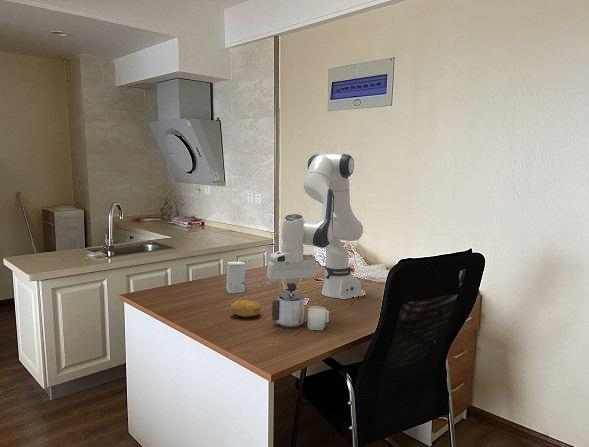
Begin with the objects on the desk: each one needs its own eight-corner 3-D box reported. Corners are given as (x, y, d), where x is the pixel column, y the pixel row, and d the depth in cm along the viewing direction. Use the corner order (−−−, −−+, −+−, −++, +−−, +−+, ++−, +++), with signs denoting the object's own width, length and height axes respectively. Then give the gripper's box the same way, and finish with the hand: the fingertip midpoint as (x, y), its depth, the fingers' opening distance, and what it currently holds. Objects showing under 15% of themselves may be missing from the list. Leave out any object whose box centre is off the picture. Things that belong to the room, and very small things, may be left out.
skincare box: (228, 293, 216) (229, 264, 214) (225, 290, 221) (226, 261, 219) (245, 292, 219) (245, 263, 217) (241, 289, 224) (242, 260, 222)
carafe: (297, 317, 186) (298, 290, 184) (307, 326, 176) (308, 297, 174) (268, 320, 181) (268, 292, 179) (276, 329, 171) (277, 300, 170)
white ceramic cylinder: (323, 323, 180) (323, 304, 179) (330, 329, 173) (331, 310, 172) (304, 325, 176) (305, 306, 175) (311, 332, 170) (312, 312, 169)
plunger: (295, 315, 184) (296, 280, 182) (302, 321, 177) (303, 285, 175) (278, 317, 181) (279, 282, 179) (284, 323, 174) (285, 287, 172)
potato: (259, 320, 180) (259, 304, 179) (228, 319, 181) (228, 303, 180) (261, 313, 190) (262, 297, 189) (232, 312, 190) (232, 296, 189)
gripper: (312, 252, 182) (311, 285, 184) (265, 255, 174) (264, 288, 176) (319, 255, 176) (317, 289, 178) (271, 258, 168) (270, 293, 170)
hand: (291, 289), depth 177 cm, fingers closed on plunger, 3 cm apart
